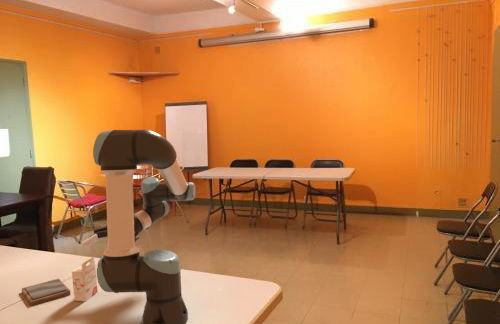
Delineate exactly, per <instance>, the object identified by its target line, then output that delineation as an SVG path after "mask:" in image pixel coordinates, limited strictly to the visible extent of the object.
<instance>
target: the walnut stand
mask: <svg viewBox="0 0 500 324" xmlns="http://www.w3.org/2000/svg"><path fill="white" fill-rule="evenodd" d="M21 293H22V295H24V297H25V299H26V300H27V301H28V303H29V305H30V306H31V307H32V306H35V305H39V304H42V303H47V302H48V301H53V300H56V299H59V298H65V297H67V296H70V295H71V289H69V288H68V287H67V286H66V284H65V283H64V282H62V280H60V278H56V279H52V280H49V281H44V282H41V283H37V284H32V285H29V286H26V287H22V288H21Z"/></svg>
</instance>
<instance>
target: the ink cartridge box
mask: <svg viewBox="0 0 500 324" xmlns="http://www.w3.org/2000/svg"><path fill="white" fill-rule="evenodd" d="M71 276H72V277H71V280H72V287H73V298H74V299H73V300H74V301H76V302H77V301H78V302H87V301H88V300H89V299H90V298H92V297H93V296H94V295H95V294H97V293H98V279H97V267H96V264H95V257H94V256H92V257H91V258H89V259H87V260H86V261H85V262H82V263H81V265H80V266H78V267H77V268H75V269H73V270H72V271H71Z"/></svg>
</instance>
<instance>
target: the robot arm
mask: <svg viewBox="0 0 500 324" xmlns="http://www.w3.org/2000/svg"><path fill="white" fill-rule="evenodd" d="M92 151H93V152H92V156H93V157H92V158H93V162H94V163H95V164H96V165H97V166H99V167H100V172H101V173H102V174H104V176H105V193H106V194H105V195H106V198H105V199H106V221H107V223H106V224H107V225H105V226H102V227H100V228H96V229H93V234H92V235H90V236H89V237H87V238H86V239H85V240H83V241H82V242H81V245H82V248H83V249H84V250H85V249H87V248H88V247H89V246H91V245H92V244H95V243H96V242H97V241H99V239H102V238H107V248H106V249H105V250H104V251H103V255H102V257H100V258H99V260H98V262H97V267H96V280H97V284H98V286H99V287H100V289H101V290H102V291H104V292H106V293H113V294H120V293H145V296H146V297H145V298H146V301H145V305H144V308H143V313H142V316H141V319H142V324H184V323H185V324H186V323H187V322H188V319H189V312H188V308H187V306H186V303H185V300H184V298H183V296H182V279H181V278H182V277H181V270H182V268H181V264H180V263H181V262H180V258H179V257H180V256H178V255H177V254H176V253H175V252H173V251H169V250H165V249H154V250H149V251H146V252H145V253H144V254H143V255H141V254H140V252H141V251H140V249H139V247H137V246H136V245H135V243H136V242H137V240H139V239H140V233H141V232H143V231H145V230H146V229H147V228H149V227H150V226H152V225H153V224H155V223H157V222H158V221H159V220H162V219H163V218H164V217H166V216H167V215H168V214H169V212H170V207H169V204H168V202H173V201H174V202H176V201H177V202H181V201H182V202H183V201H184V202H187V201H194V200H195V198H196V184H195V183H194V182H191V181H190V182H189V181H187V180H186V178H185V175H184V173H183V171H182V169H181V166H180V165H179V163H178V160H177V157H178V156H177V152H176V149H175V147H174V146H173V145H172V144H171V142H170V141H169V140H168V139H167V138H166V137H164V136H163V135H161V134H160V133H158V132H156V131H153V130H151V129H150V130H149V129H146V128H145V129H143V128H141V129H111V130H104V131H101V132H100V133H98V134H97V136H96V138H95V140H94V143H93V149H92ZM138 165H150V166H151V167H152V168H154V169H156V170H157V171H158V173H159V174H160V176H161V178H162V179H163V181H164V182H160V180H159V179H158V178H157V177H154V176H153V177H152V176H149V177H145V178H144V179H142V180H141V182H140V189H141V195H142V199H143V205H144V208H143V209H141V210H140V211H137V212H135V211H134V207H135V206H134V179H133V177H134V174H135V172H137V171H138Z"/></svg>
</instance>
